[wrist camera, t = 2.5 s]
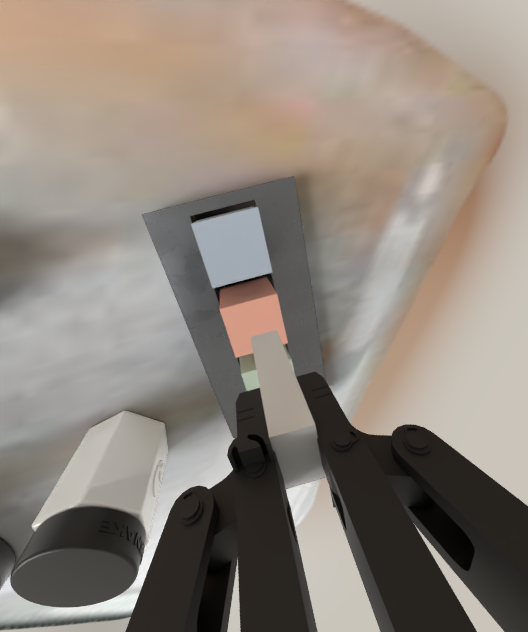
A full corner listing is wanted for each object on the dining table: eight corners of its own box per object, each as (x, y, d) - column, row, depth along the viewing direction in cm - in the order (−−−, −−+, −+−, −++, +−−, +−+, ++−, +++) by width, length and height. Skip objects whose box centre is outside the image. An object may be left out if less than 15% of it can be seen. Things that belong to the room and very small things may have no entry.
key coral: (233, 330, 22) (235, 357, 18) (220, 289, 21) (219, 309, 17) (276, 318, 23) (288, 343, 19) (266, 276, 21) (277, 293, 17)
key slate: (214, 271, 20) (212, 288, 16) (197, 220, 18) (190, 224, 14) (262, 259, 20) (272, 272, 16) (250, 206, 19) (257, 206, 15)
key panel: (232, 417, 30) (233, 438, 27) (152, 213, 20) (141, 214, 17) (320, 391, 30) (330, 409, 28) (284, 180, 21) (294, 176, 18)
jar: (172, 462, 31) (145, 599, 20) (100, 469, 30) (31, 619, 19) (165, 406, 28) (128, 535, 17) (83, 411, 26) (-14, 555, 16)
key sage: (248, 378, 25) (253, 411, 21) (237, 344, 23) (241, 373, 19) (287, 367, 25) (300, 398, 21) (279, 332, 23) (291, 359, 19)
